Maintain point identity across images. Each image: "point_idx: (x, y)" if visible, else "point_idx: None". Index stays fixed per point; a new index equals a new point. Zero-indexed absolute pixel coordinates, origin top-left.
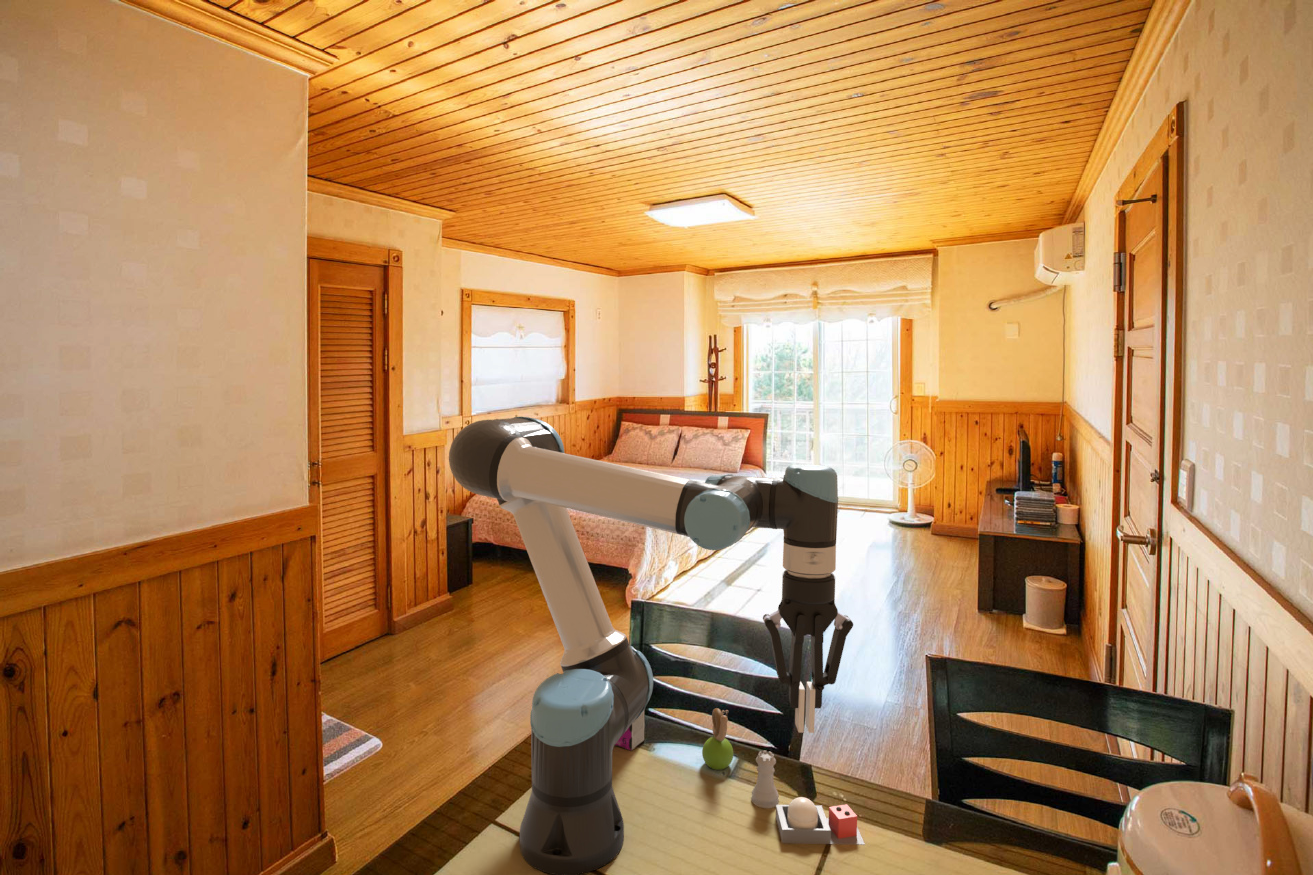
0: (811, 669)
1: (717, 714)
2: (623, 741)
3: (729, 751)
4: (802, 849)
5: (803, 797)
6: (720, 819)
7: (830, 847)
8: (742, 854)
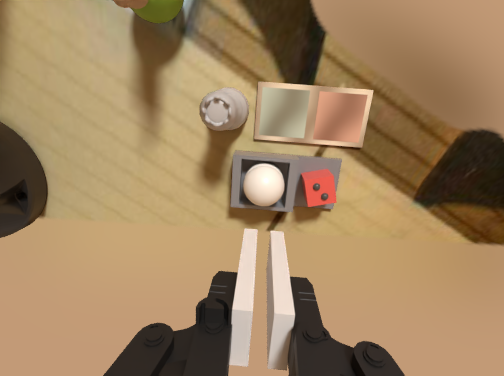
0: (297, 371)
1: None
2: None
3: (170, 4)
4: None
5: (266, 184)
6: (162, 144)
7: None
8: (185, 209)
